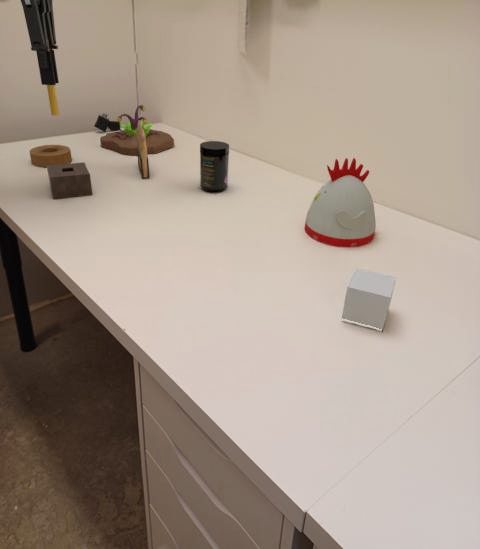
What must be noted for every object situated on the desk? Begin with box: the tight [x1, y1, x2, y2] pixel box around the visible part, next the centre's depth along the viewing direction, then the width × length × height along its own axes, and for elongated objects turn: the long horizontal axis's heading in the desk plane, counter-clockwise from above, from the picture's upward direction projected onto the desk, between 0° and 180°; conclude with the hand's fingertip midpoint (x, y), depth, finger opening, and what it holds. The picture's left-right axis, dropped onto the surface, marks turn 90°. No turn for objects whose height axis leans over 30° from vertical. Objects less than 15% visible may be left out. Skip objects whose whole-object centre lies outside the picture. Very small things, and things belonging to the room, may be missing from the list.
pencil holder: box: [46, 162, 93, 200], centre depth 108 cm, size 8×8×5 cm
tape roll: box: [29, 144, 73, 168], centre depth 126 cm, size 10×10×3 cm
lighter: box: [93, 112, 121, 133], centre depth 153 cm, size 8×2×5 cm
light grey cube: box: [341, 267, 397, 330], centre depth 70 cm, size 6×6×6 cm
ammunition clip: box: [137, 120, 150, 180], centre depth 119 cm, size 11×2×12 cm, turn 15°
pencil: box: [46, 45, 60, 116], centre depth 101 cm, size 2×2×15 cm
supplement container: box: [199, 140, 230, 193], centre depth 111 cm, size 7×7×10 cm
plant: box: [99, 104, 175, 157], centre depth 139 cm, size 20×20×11 cm
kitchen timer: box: [304, 157, 377, 248], centre depth 92 cm, size 14×14×15 cm
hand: (50, 83), depth 101 cm, fingers closed on pencil, 1 cm apart
